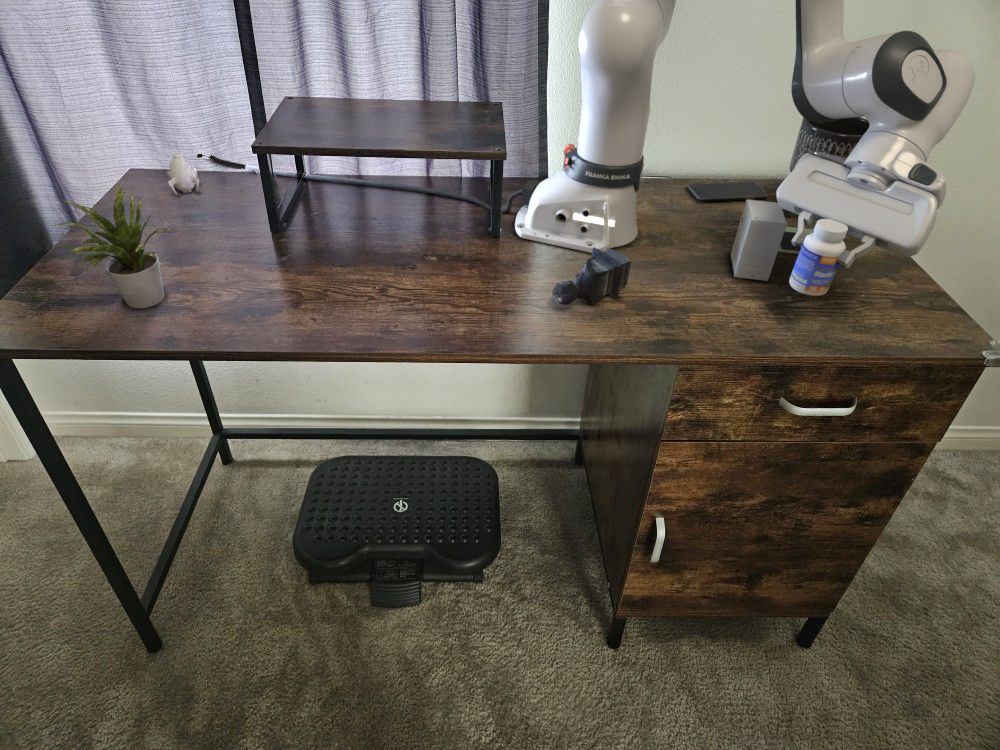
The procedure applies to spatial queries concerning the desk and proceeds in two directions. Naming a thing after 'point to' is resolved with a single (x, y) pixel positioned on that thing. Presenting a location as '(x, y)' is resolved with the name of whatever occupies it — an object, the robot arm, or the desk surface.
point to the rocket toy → (182, 175)
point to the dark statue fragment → (595, 278)
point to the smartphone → (727, 191)
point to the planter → (828, 138)
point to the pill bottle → (819, 258)
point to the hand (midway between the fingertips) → (819, 255)
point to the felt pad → (787, 240)
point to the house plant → (124, 253)
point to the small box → (757, 239)
